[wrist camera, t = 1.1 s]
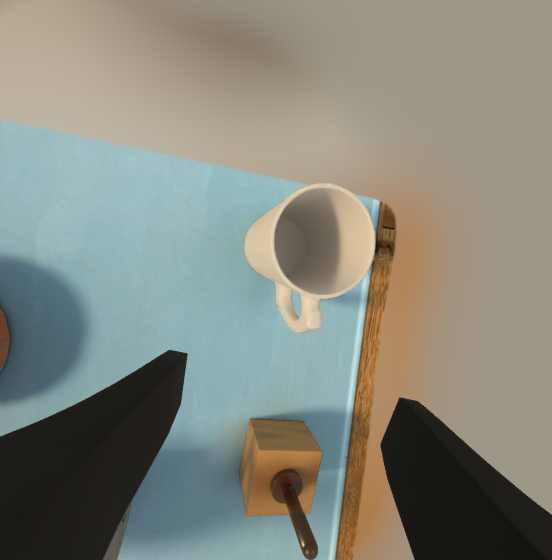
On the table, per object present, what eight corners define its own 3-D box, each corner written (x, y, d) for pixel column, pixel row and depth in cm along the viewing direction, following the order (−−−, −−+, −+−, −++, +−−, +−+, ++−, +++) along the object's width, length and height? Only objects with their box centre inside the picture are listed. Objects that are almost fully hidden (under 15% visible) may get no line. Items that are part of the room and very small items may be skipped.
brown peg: (297, 498, 26) (327, 574, 20) (267, 499, 26) (289, 578, 19) (303, 468, 26) (335, 536, 20) (273, 468, 25) (297, 538, 19)
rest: (293, 474, 32) (310, 514, 27) (238, 474, 30) (246, 517, 25) (304, 421, 31) (323, 451, 27) (249, 418, 30) (259, 450, 25)
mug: (242, 209, 28) (272, 177, 16) (308, 213, 29) (379, 188, 18) (239, 313, 29) (267, 355, 17) (304, 312, 30) (369, 349, 19)
